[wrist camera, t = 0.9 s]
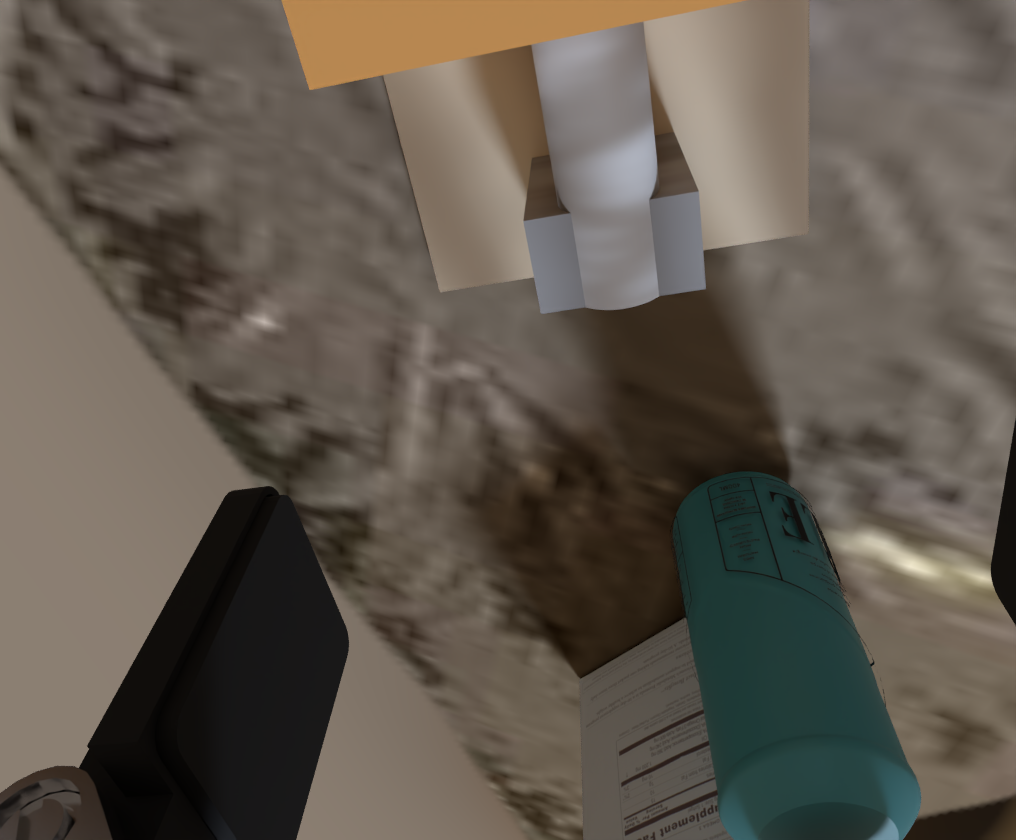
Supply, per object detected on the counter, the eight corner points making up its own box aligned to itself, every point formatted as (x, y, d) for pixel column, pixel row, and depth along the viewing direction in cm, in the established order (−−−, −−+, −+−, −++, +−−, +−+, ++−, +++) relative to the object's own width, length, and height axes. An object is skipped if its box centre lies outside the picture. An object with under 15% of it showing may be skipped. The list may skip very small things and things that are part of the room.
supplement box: (574, 677, 46) (575, 1021, 32) (703, 600, 42) (769, 954, 28) (681, 755, 50) (725, 1098, 36) (811, 690, 46) (917, 1047, 32)
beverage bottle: (643, 531, 40) (695, 991, 23) (703, 426, 37) (815, 882, 20) (763, 567, 41) (895, 1038, 24) (834, 469, 37) (1046, 941, 21)
